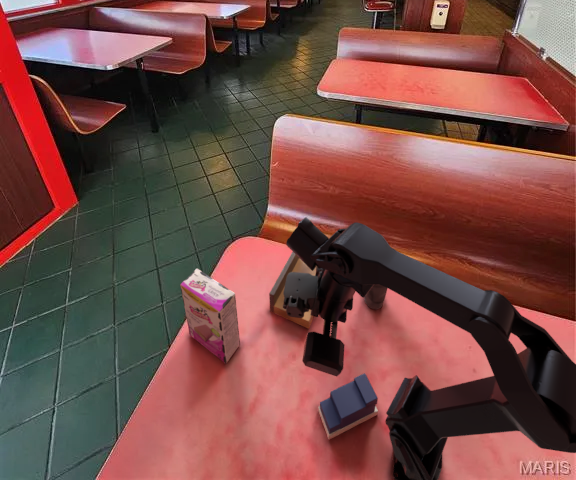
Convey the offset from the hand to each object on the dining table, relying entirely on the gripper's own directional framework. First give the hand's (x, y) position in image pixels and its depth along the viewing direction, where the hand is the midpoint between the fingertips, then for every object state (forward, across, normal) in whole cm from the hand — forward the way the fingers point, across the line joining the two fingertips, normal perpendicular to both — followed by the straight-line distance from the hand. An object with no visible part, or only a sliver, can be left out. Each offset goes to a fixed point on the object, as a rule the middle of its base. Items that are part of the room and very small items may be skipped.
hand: (318, 329), depth 63 cm
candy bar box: (+16, +1, -20) cm, 26 cm away
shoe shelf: (+14, -15, -3) cm, 21 cm away
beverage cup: (+11, -16, +14) cm, 24 cm away
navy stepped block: (+9, +8, +8) cm, 15 cm away
